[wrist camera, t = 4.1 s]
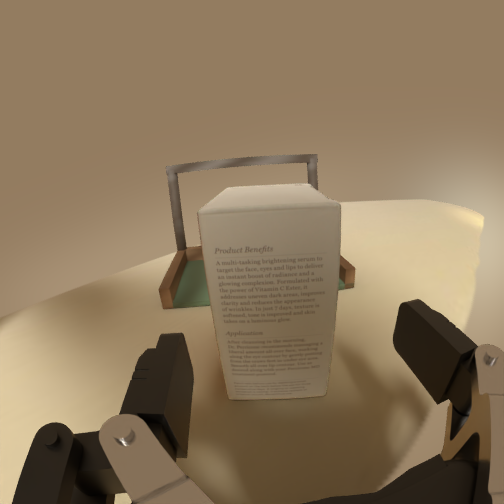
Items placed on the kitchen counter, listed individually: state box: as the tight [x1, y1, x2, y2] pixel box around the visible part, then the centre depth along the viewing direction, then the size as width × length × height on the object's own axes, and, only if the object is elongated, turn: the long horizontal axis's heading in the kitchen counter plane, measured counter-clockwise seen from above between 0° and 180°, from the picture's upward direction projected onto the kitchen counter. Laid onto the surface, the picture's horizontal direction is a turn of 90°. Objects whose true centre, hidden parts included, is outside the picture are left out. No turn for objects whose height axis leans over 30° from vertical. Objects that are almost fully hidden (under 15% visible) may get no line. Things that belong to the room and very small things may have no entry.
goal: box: [159, 154, 355, 309], centre depth 28 cm, size 18×12×12 cm, turn 95°
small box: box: [197, 184, 341, 400], centre depth 15 cm, size 8×6×10 cm
